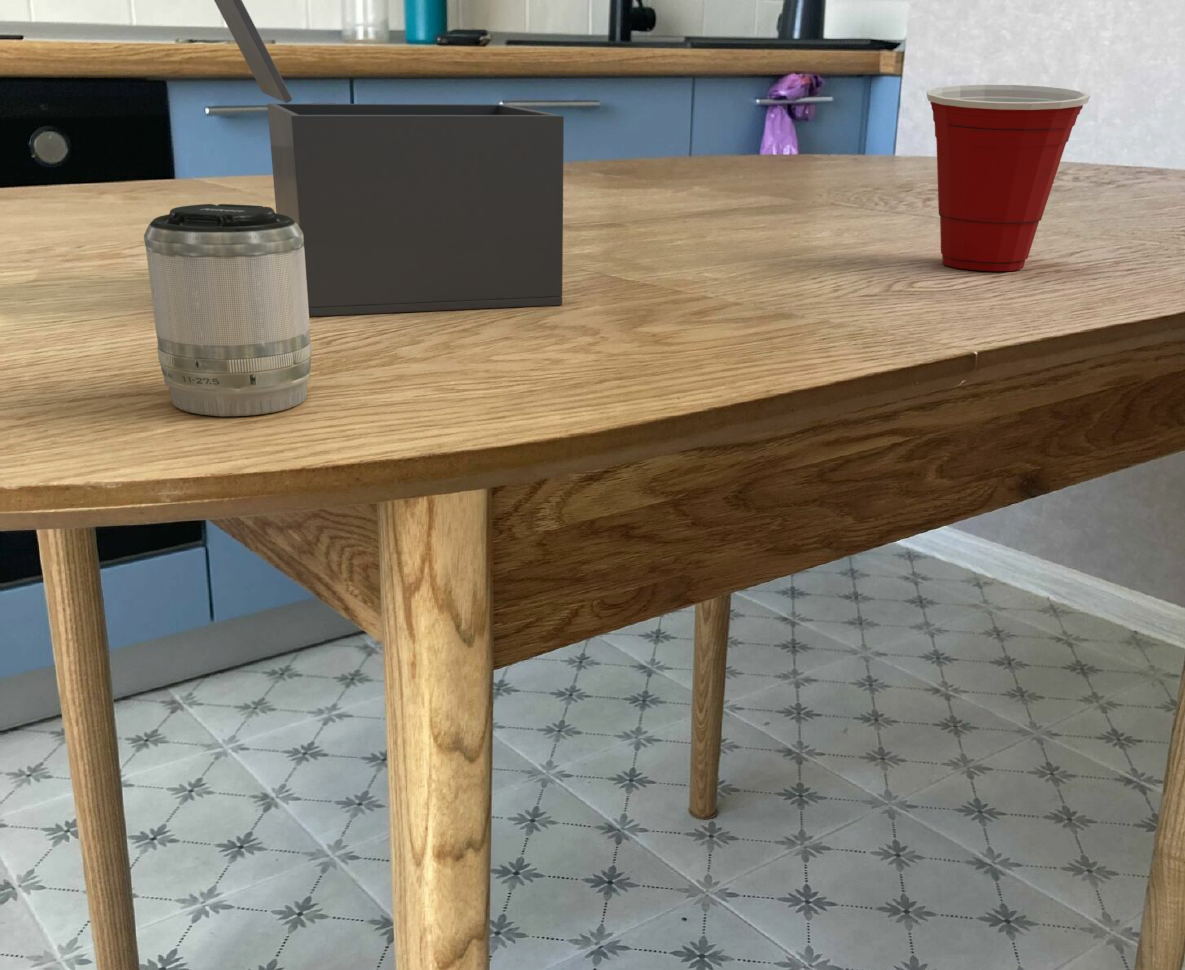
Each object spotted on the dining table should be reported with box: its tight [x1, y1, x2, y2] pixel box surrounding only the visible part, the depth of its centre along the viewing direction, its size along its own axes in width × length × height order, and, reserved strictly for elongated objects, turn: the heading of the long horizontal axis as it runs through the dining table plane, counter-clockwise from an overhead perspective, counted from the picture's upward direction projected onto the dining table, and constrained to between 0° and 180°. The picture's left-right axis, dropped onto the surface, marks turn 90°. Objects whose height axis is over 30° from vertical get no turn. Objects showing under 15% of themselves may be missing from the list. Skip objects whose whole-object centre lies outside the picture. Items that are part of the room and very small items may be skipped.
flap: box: [213, 0, 293, 104], centre depth 69 cm, size 7×13×1 cm
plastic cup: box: [925, 84, 1091, 272], centre depth 88 cm, size 11×11×12 cm
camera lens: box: [143, 203, 313, 417], centre depth 52 cm, size 6×6×8 cm
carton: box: [266, 102, 565, 318], centre depth 76 cm, size 15×13×10 cm
